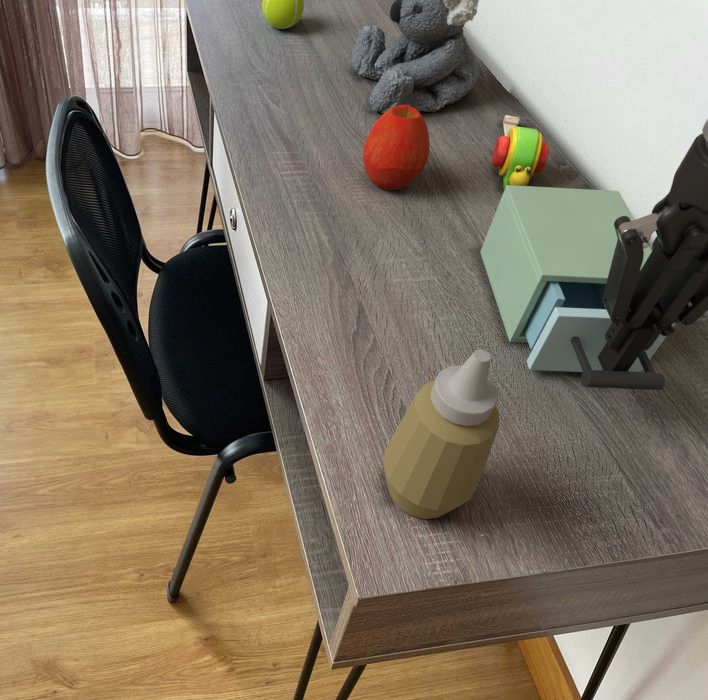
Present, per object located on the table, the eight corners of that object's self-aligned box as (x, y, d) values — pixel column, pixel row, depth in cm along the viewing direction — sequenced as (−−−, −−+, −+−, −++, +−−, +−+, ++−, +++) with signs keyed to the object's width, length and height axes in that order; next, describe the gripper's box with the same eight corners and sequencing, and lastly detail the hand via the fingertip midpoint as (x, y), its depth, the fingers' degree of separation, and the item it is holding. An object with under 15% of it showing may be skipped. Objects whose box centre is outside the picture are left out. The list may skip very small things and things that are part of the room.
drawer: (661, 421, 71) (703, 368, 65) (544, 416, 70) (577, 363, 64) (596, 283, 83) (627, 229, 78) (498, 279, 83) (521, 224, 77)
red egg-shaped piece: (431, 195, 95) (454, 120, 87) (373, 203, 93) (391, 128, 85) (403, 159, 100) (422, 85, 92) (347, 167, 98) (362, 92, 90)
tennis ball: (257, 32, 122) (260, -11, 117) (263, 15, 127) (267, -28, 122) (298, 38, 122) (303, -5, 117) (303, 20, 127) (308, -22, 121)
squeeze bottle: (371, 449, 67) (417, 310, 54) (458, 455, 68) (526, 318, 54) (378, 528, 62) (432, 396, 49) (473, 535, 62) (553, 405, 49)
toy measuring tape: (487, 196, 95) (504, 152, 90) (488, 119, 108) (502, 77, 103) (537, 205, 95) (557, 161, 90) (532, 127, 107) (548, 85, 103)
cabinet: (625, 347, 78) (669, 280, 71) (509, 342, 78) (542, 274, 71) (583, 257, 88) (618, 190, 81) (479, 252, 87) (506, 184, 80)
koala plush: (344, 63, 117) (367, -71, 103) (450, 61, 120) (487, -70, 105) (374, 121, 106) (404, -20, 91) (490, 117, 109) (538, -21, 94)
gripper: (814, 128, 55) (661, 341, 72) (644, 118, 54) (531, 336, 72) (871, 187, 50) (692, 402, 67) (685, 177, 49) (553, 396, 67)
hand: (609, 367), depth 70 cm, fingers closed
